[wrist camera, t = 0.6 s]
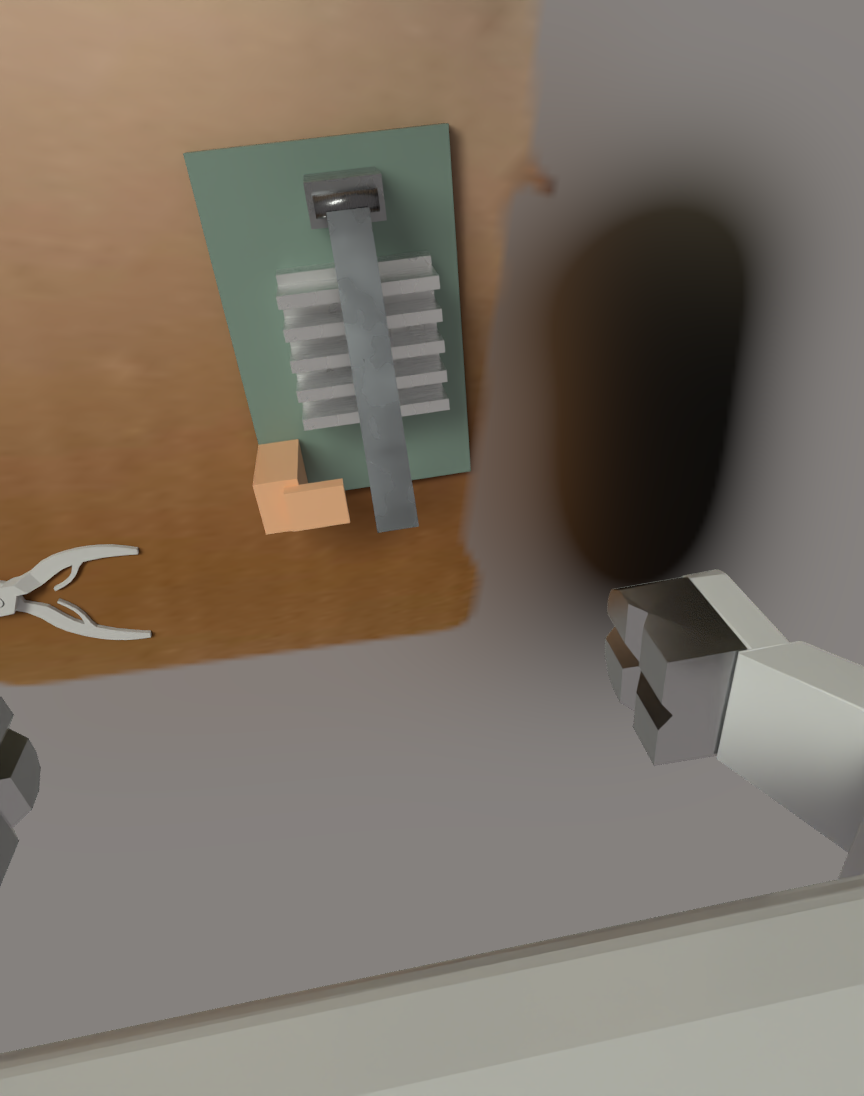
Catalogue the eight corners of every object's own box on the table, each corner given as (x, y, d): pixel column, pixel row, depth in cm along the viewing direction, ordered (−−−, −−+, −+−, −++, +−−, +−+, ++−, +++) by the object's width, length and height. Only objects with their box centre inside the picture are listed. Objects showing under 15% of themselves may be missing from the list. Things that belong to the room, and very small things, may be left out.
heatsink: (258, 179, 41) (252, 188, 37) (419, 161, 42) (430, 167, 38) (306, 411, 50) (306, 438, 46) (439, 392, 51) (450, 417, 47)
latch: (258, 444, 51) (251, 492, 44) (337, 433, 51) (341, 478, 45) (270, 490, 53) (265, 542, 47) (346, 479, 53) (351, 528, 47)
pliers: (149, 646, 59) (-41, 649, 56) (152, 634, 61) (-33, 637, 58) (134, 552, 54) (-76, 551, 51) (138, 542, 55) (-66, 540, 52)
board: (185, 152, 41) (183, 153, 40) (445, 123, 42) (448, 123, 41) (273, 495, 54) (273, 501, 53) (468, 465, 55) (470, 471, 55)
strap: (313, 201, 38) (311, 191, 37) (376, 193, 38) (376, 183, 37) (367, 533, 40) (367, 534, 38) (427, 524, 40) (429, 524, 39)
